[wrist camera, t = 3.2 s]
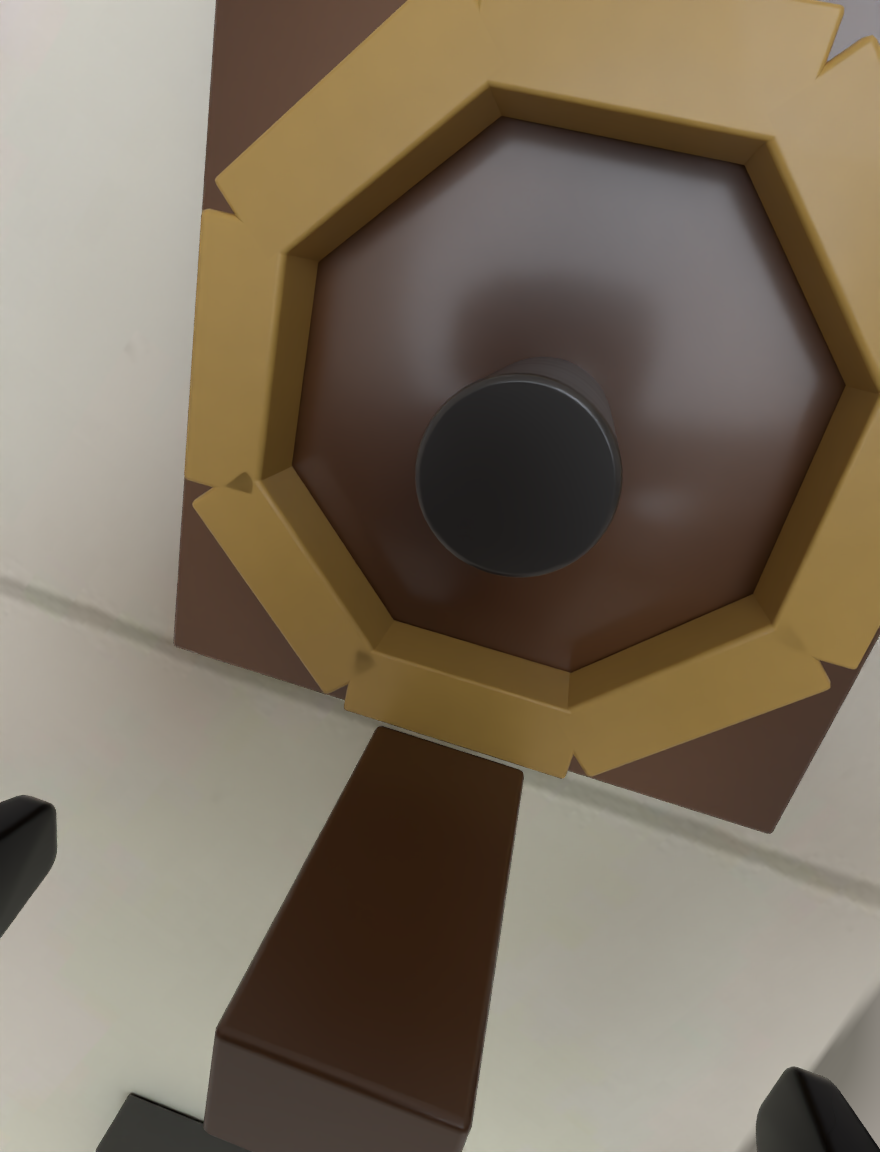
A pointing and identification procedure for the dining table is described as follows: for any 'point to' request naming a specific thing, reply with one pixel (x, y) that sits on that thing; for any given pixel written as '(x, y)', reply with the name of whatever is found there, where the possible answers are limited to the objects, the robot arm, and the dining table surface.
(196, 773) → the dining table surface
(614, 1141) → the dining table surface
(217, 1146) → the stove
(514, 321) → the brown peg base
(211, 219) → the ring
